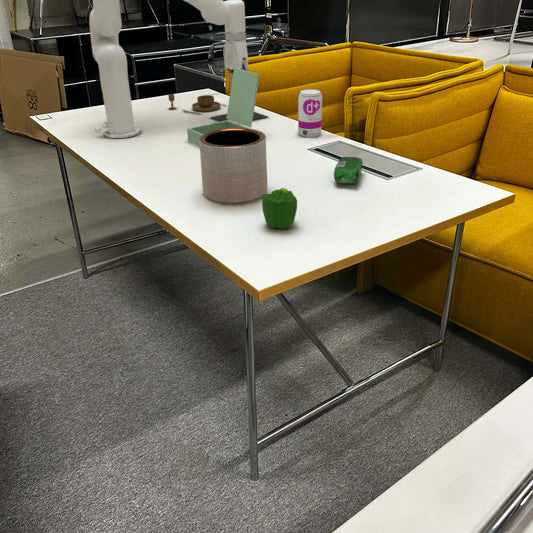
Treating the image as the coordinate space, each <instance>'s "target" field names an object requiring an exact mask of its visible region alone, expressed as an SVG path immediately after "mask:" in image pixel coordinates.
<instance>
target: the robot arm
mask: <svg viewBox="0 0 533 533" xmlns="http://www.w3.org/2000/svg"><path fill="white" fill-rule="evenodd" d="M183 1H184V2H186V3H188V4H190V5H191V6H193V7H194V8H196V9H197V10H198V11H200V15H201V17H202V18H203V20H204V21H206V22H207V23H210V24H213V25H217V26H223V25H224V37H225V38H224V39H225V41H224V49H223V50H224V51H223V52H224V53H223V56H224V57H223V59H224V60H223V62H224V67H225V68H226V69H227V72H228V76H229V77H230V73H233V71H234V68H236V69H240V70H244V71H248V72H250V69H249V54H248V47H247V33H246V10H245V6H246V5H245V2H244V1H243V0H183ZM92 5H93V6H92V7H93V9H92V10H91V11H90V14H89V22H88V23H89V33H90V42H91V50H92V57H93V58H94V61H95V62H96V63H97V65H98V71H99V80H100V87H101V92H102V99H103V104H104V105H103V106H104V110H105V118H106V121H104V124H102V125H98V126H94V131H95V133H100V132H101V134H103V133H104V136H105V137H107V138H111V139H125V138H126V139H127V138H131V137H134V136H137V135H139V134H140V131H141V130H140V128H139V127H137V126H136V125H135V119H134V118H135V117H134V111H133V104H132V96H131V89H130V82H129V74H128V60H127V59H128V58H127V55H126V53H125V51H124V48H123V47H122V46H121V45H120V42H119V33H121V31H122V28H123V27H122V26H123V23H122V22H123V21H122V15H121V3H120V0H92Z"/></svg>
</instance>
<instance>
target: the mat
mask: <svg viewBox="0 0 533 533" xmlns="http://www.w3.org/2000/svg"><path fill="white" fill-rule="evenodd" d="M226 118H227V113H225V114H219V115H215V116H210V119H211V120H214V121H216V122H221V121H226V120H228V119H226ZM268 118H269V116H268V115H264V114H262V113H259V112H255V111H254V114H253V120H252V122H255V121H259V120H264V119H268ZM228 121H229V120H228Z"/></svg>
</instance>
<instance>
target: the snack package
mask: <svg viewBox="0 0 533 533" xmlns="http://www.w3.org/2000/svg"><path fill="white" fill-rule="evenodd" d="M363 161H364V160H363V159H362V158H361V157H359V156H342V157H340V158H339V160H338V161H337V164H336V165H335V167H334V170H333V177H334V178H333V179H334V181H335V182H336V184H350V185H351V184H356V183H357V182H358V180H359V179H360V176H361V173H362V170H363Z"/></svg>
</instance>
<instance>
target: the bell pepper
mask: <svg viewBox="0 0 533 533" xmlns="http://www.w3.org/2000/svg"><path fill="white" fill-rule="evenodd" d="M261 205H262V214H263V217H264V220H265V223H266V225H267V226H268V227H269V228H272V229H276V228H277V229H280V230H281V229H282V230H285V229H289V228H291V227H292V226H293V224H294V223H295V220H296V214H297V210H298V199H297V197H296V196H295V195H294V193H293V192H292V190H288V189H286V188H285V187H281V188H279V189H274V190H272V191H271V193H265V194H264V195H263V196H261Z"/></svg>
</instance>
